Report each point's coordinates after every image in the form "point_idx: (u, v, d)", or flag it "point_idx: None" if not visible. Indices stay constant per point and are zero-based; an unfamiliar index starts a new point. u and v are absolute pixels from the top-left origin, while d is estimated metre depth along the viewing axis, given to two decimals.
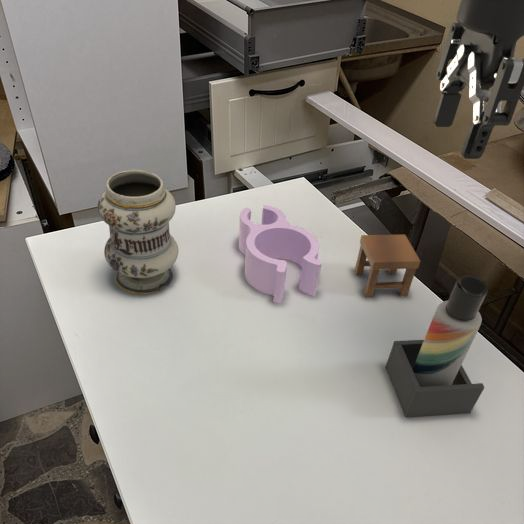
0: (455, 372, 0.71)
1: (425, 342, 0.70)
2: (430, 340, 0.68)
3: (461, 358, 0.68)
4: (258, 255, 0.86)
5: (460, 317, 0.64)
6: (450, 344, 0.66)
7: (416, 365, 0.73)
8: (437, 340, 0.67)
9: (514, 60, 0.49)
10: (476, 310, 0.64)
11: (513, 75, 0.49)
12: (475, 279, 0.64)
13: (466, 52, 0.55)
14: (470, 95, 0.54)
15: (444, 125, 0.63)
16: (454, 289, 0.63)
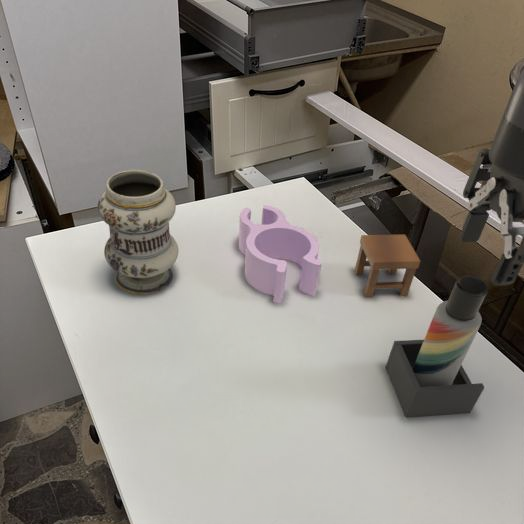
0: (455, 372, 0.71)
1: (425, 342, 0.70)
2: (430, 340, 0.68)
3: (461, 358, 0.68)
4: (258, 255, 0.86)
5: (460, 317, 0.64)
6: (450, 344, 0.66)
7: (416, 365, 0.73)
8: (437, 340, 0.67)
9: None
10: (476, 310, 0.64)
11: None
12: (475, 279, 0.64)
13: (497, 185, 0.54)
14: (502, 230, 0.54)
15: (471, 240, 0.63)
16: (454, 289, 0.63)
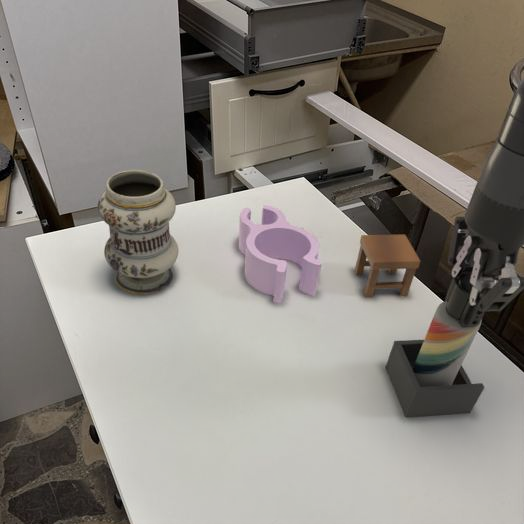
0: (455, 372, 0.70)
1: (425, 342, 0.70)
2: (430, 340, 0.68)
3: (461, 358, 0.68)
4: (258, 255, 0.86)
5: (460, 317, 0.64)
6: (450, 344, 0.66)
7: (416, 365, 0.73)
8: (437, 340, 0.67)
9: (512, 281, 0.55)
10: None
11: (509, 291, 0.55)
12: None
13: (473, 243, 0.59)
14: (471, 281, 0.60)
15: None
16: (454, 289, 0.63)
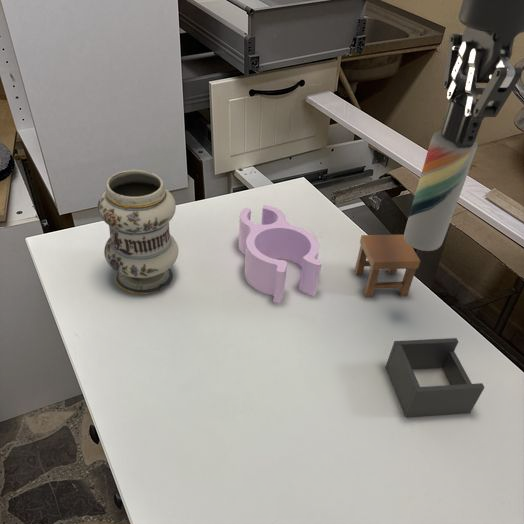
0: (451, 208, 0.71)
1: (421, 177, 0.70)
2: (426, 171, 0.68)
3: (457, 189, 0.68)
4: (258, 255, 0.86)
5: None
6: (446, 170, 0.66)
7: (412, 207, 0.73)
8: (433, 168, 0.67)
9: (508, 70, 0.54)
10: None
11: (504, 82, 0.55)
12: None
13: (468, 48, 0.59)
14: (466, 88, 0.60)
15: None
16: (449, 107, 0.63)
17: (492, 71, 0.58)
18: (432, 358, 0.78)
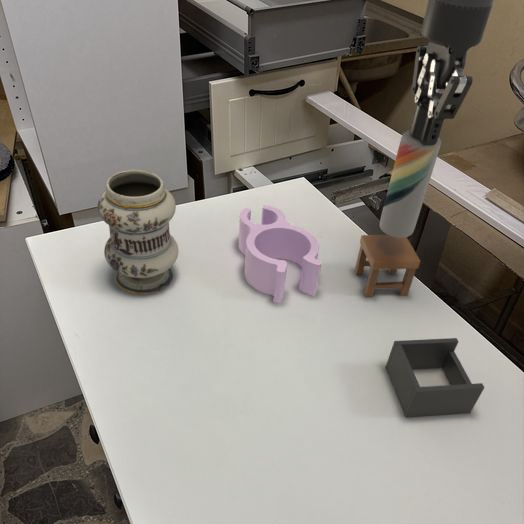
0: (420, 199, 0.80)
1: (393, 171, 0.79)
2: (397, 166, 0.77)
3: (424, 182, 0.78)
4: (258, 255, 0.86)
5: None
6: (413, 165, 0.75)
7: (386, 198, 0.82)
8: (402, 163, 0.76)
9: (460, 78, 0.64)
10: None
11: (458, 89, 0.65)
12: None
13: (429, 59, 0.68)
14: (428, 93, 0.69)
15: None
16: (415, 110, 0.73)
17: (449, 79, 0.67)
18: (432, 358, 0.78)
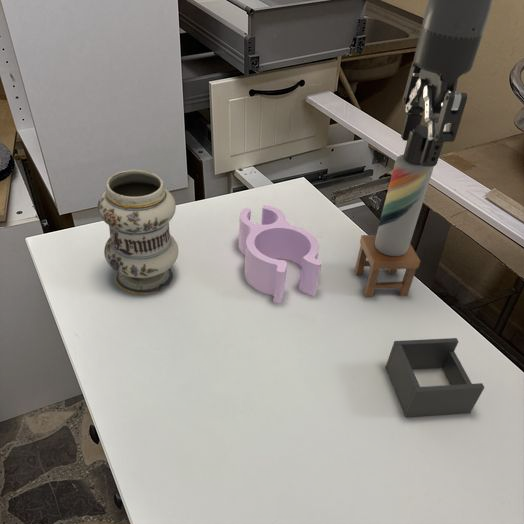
0: (413, 220, 0.82)
1: (387, 193, 0.82)
2: (391, 188, 0.80)
3: (417, 204, 0.80)
4: (258, 255, 0.86)
5: (414, 161, 0.76)
6: (407, 188, 0.78)
7: (381, 218, 0.85)
8: (396, 186, 0.79)
9: (455, 93, 0.65)
10: None
11: (454, 104, 0.65)
12: (426, 127, 0.75)
13: (422, 84, 0.71)
14: (425, 118, 0.70)
15: None
16: (409, 135, 0.75)
17: (444, 99, 0.68)
18: (432, 358, 0.78)
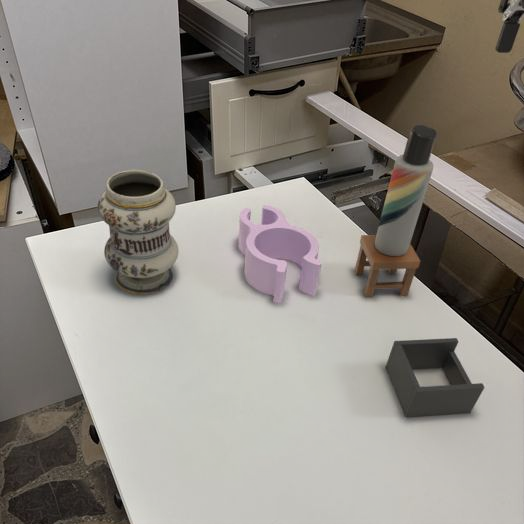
0: (413, 220, 0.82)
1: (387, 193, 0.82)
2: (391, 188, 0.80)
3: (417, 204, 0.80)
4: (258, 255, 0.86)
5: (414, 161, 0.76)
6: (407, 188, 0.78)
7: (381, 218, 0.85)
8: (396, 186, 0.79)
9: None
10: (427, 154, 0.75)
11: None
12: (426, 127, 0.75)
13: None
14: None
15: (504, 51, 0.77)
16: (409, 135, 0.75)
17: None
18: (432, 358, 0.78)
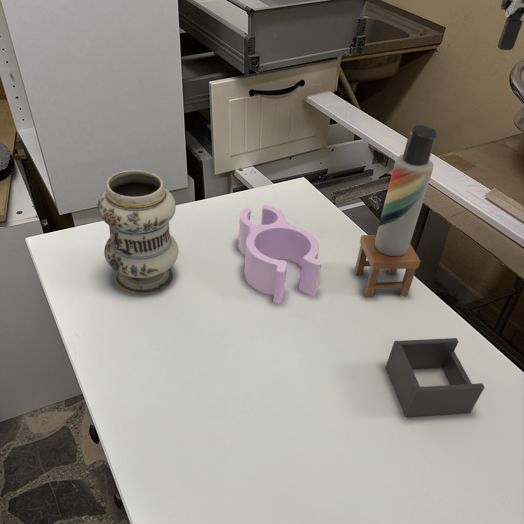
0: (413, 220, 0.82)
1: (387, 193, 0.82)
2: (391, 188, 0.80)
3: (417, 204, 0.80)
4: (258, 255, 0.86)
5: (414, 161, 0.76)
6: (407, 188, 0.78)
7: (381, 218, 0.85)
8: (396, 186, 0.79)
9: None
10: (427, 154, 0.75)
11: None
12: (426, 127, 0.75)
13: None
14: None
15: (506, 48, 0.77)
16: (409, 135, 0.75)
17: None
18: (432, 358, 0.78)
